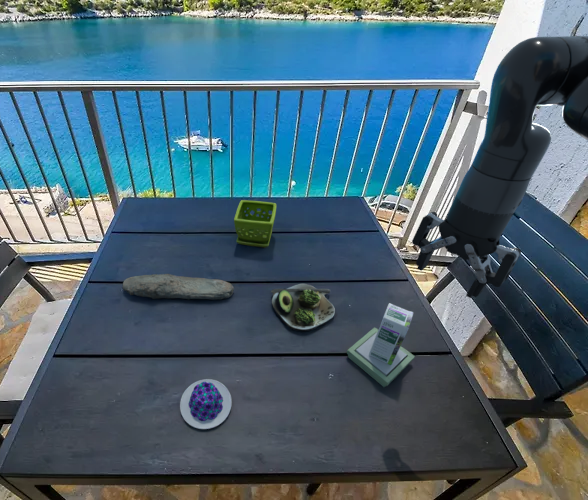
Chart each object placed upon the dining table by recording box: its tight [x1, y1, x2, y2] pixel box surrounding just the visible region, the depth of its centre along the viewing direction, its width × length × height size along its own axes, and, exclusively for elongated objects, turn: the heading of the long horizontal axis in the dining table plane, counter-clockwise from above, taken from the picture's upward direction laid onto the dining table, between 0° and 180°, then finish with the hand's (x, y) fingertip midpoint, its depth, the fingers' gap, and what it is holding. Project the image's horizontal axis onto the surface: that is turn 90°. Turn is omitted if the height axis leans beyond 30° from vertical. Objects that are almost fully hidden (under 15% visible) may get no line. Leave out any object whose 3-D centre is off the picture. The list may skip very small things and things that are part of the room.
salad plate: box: [269, 283, 336, 332], centre depth 104 cm, size 19×18×5 cm
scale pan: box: [355, 332, 407, 377], centre depth 89 cm, size 9×9×2 cm
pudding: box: [179, 378, 233, 430], centre depth 80 cm, size 12×12×5 cm
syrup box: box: [369, 302, 414, 365], centre depth 84 cm, size 6×6×14 cm
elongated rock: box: [121, 273, 235, 301], centre depth 109 cm, size 35×5×10 cm
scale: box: [346, 326, 416, 388], centre depth 90 cm, size 12×12×3 cm
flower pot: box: [233, 199, 277, 249], centre depth 128 cm, size 14×14×13 cm
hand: (445, 281), depth 60 cm, fingers open, 8 cm apart
